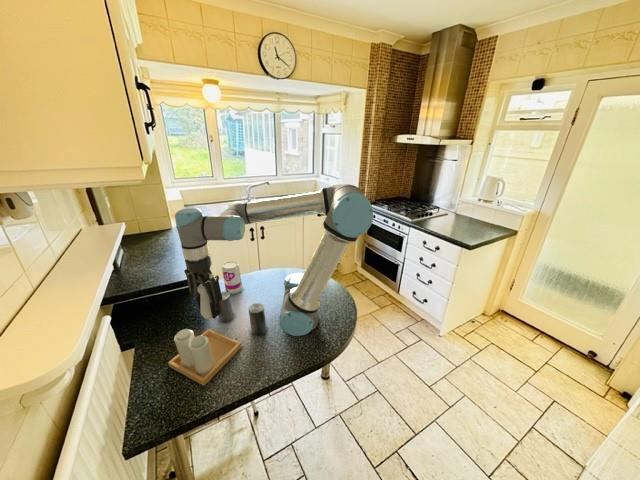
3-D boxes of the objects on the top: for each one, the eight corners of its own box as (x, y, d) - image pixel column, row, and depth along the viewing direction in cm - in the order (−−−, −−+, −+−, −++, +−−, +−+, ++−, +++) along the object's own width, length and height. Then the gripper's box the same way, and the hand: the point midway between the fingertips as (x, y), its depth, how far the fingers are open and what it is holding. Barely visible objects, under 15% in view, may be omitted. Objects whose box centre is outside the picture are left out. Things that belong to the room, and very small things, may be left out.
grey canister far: (236, 316, 115) (232, 294, 110) (226, 324, 110) (222, 302, 105) (226, 312, 117) (222, 290, 112) (216, 320, 112) (211, 298, 108)
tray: (241, 347, 99) (240, 342, 98) (204, 387, 84) (202, 381, 83) (209, 333, 105) (208, 328, 104) (169, 367, 90) (167, 362, 89)
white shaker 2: (218, 364, 91) (211, 337, 86) (204, 378, 86) (196, 350, 81) (205, 358, 93) (198, 331, 88) (191, 371, 88) (183, 343, 83)
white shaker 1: (203, 357, 94) (196, 330, 88) (189, 370, 89) (181, 342, 83) (192, 352, 96) (184, 325, 91) (178, 364, 91) (169, 336, 86)
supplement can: (237, 295, 129) (233, 269, 123) (222, 293, 130) (218, 268, 124) (245, 286, 136) (241, 261, 130) (231, 284, 138) (226, 260, 131)
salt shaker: (209, 323, 89) (202, 292, 83) (197, 318, 91) (190, 287, 86) (222, 312, 94) (216, 282, 88) (210, 308, 96) (204, 279, 90)
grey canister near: (269, 328, 108) (266, 305, 103) (260, 338, 103) (257, 314, 98) (257, 324, 110) (255, 301, 105) (248, 333, 105) (245, 310, 100)
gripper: (227, 257, 82) (237, 314, 91) (187, 246, 89) (199, 300, 99) (209, 268, 76) (221, 328, 85) (167, 255, 83) (182, 311, 92)
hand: (209, 313), depth 92 cm, fingers closed on salt shaker, 6 cm apart
